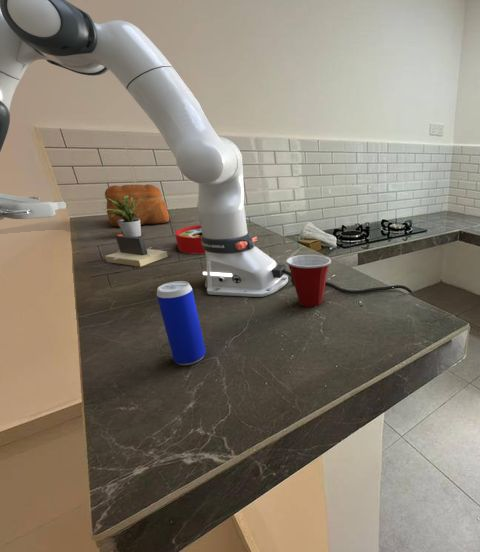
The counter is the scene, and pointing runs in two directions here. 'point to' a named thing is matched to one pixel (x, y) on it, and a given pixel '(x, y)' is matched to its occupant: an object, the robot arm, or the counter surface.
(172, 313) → the beverage can
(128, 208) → the house plant
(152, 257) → the panel
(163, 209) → the bread
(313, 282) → the plastic cup
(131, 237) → the dark grey flat block
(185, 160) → the robot arm
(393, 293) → the counter surface
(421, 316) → the counter surface
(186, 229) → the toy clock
